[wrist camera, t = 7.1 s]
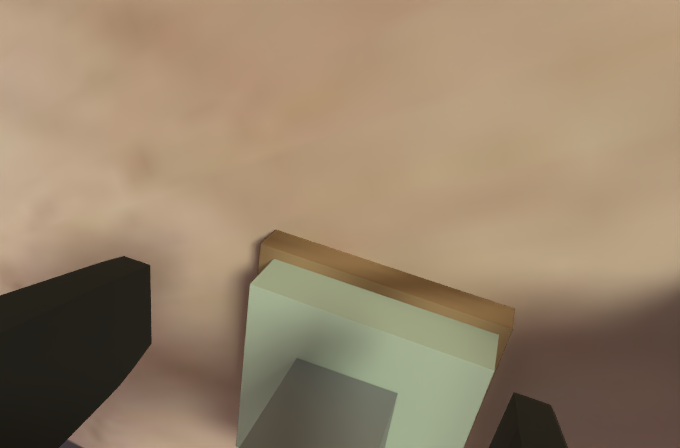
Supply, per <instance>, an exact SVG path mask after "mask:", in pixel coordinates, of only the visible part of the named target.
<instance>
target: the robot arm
mask: <svg viewBox="0 0 680 448" xmlns="http://www.w3.org/2000/svg"><path fill="white" fill-rule="evenodd" d="M150 345H151V290H150V265H148V264H145V263H142V262H139V261H137V260H134V259H131V258H128V257H125V256H123V257H119V258H115V259H111V260H108V261H105V262H101V263H98V264H95V265H92V266H89V267H86V268H83V269H79V270H76V271H73V272H70V273H67V274H64V275H61V276H58V277H55V278H52V279H49V280H46V281H43V282H40V283H37V284H34V285H31V286H28V287H25V288H22V289H19V290H16V291H13V292H10V293H7V294H3V295H0V448H59V447H60V446H61V445H62V444H63V443H64V442H65V441H66V440H67V439H68V438H69V437H70V436H71V435H72V434H73V433H74V432H75V431H76V430H77V429H78V428H79V427H80V426H81V425H82V424H83V423H84V422H85V421H86V420H87V419H88V418H89V417H90V416H91V414H92V413H93V412H94V411H95V410H96V409H97V408H98V407H99V406H100V405H101V404H102V403H103V402H104V401H105V400H106V399H107V398H108V397H109V396H110V395H111V394H112V393H113V392H114V391H115V390H116V389H117V387H118V386H119V385H120V384H121V383H122V382H123V380H124V379H125V378H126V377H127V375H128V374H129V373H130V371H131V370H132V369H133V368H134V366H135V365H136V364H137V362H138V361H139V360H140V358H141V357H142V355H143V354H144V353H145V351H146V350H147V349H148V347H149V346H150ZM489 448H568V446H567V444H566V441H565V439H564V436H563V434H562V431H561V428H560V426H559V423H558V420H557V418H556V415H555V413H554V411H553V409H552V407H551V405H549V404H546V403H543V402H540V401H538V400H535V399H532V398H529V397H526V396H523V395H520V394H517V393H515V392H514V393H513V396H512V398H511V400H510V402H509V404H508V407H507V409H506V411H505V413H504V415H503V418H502V420H501V422H500V424H499V427H498V429H497V431H496V433H495V435H494V438H493V440H492V442H491V444H490V446H489Z"/></svg>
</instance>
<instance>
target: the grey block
mask: <svg viewBox="0 0 680 448" xmlns="http://www.w3.org/2000/svg"><path fill="white" fill-rule="evenodd" d="M397 394H398V393H395V392H392V391H389V390H387V389H384V388H381V387H378V386H375V385H372V384H369V383H367V382H364V381H361V380H358V379H355V378H352V377H349V376H347V375H344V374H341V373H338V372H335V371H332V370H329V369H327V368H324V367H321V366H318V365H315V364H312V363H309V362H307V361H304V360H301V359H298V358H296V360H295V361H294V363H293V365H292V366H291V368H290V369H289V371H288V372H287V374H286V375H285V377H284V379H283V380H282V382H281V383H280V385H279V386H278V388H277V390H276V391H275V393H274V394H273V396H272V397H271V399H270V400H269V402H268V404H267V405H266V407H265V408H264V410H263V411H262V413H261V414H260V416H259V418H258V419H257V421H256V422H255V424H254V425H253V427H252V428H251V430H250V432H249V433H248V435H247V436H246V438H245V439H244V441H243V442H242V444H241V446H240V447H239V448H385V445H386V441H387V436H388V432H389V428H390V424H391V420H392V415H393V411H394V407H395V403H396V399H397Z"/></svg>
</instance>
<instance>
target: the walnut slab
mask: <svg viewBox="0 0 680 448" xmlns="http://www.w3.org/2000/svg"><path fill="white" fill-rule="evenodd" d="M273 259H276V260H279V261H282V262H285V263H288V264H291V265H294V266H297V267H300V268H303V269H306V270H309V271H312V272H315V273H318V274H321V275H324V276H327V277H330V278H333V279H335V280H338V281H341V282H344V283H347V284H350V285H353V286H356V287H359V288H362V289H365V290H368V291H371V292H374V293H377V294H380V295H383V296H386V297H389V298H392V299H395V300H397V301H400V302H403V303H406V304H409V305H412V306H415V307H418V308H421V309H424V310H427V311H430V312H433V313H436V314H439V315H442V316H445V317H448V318H451V319H454V320H456V321H459V322H462V323H465V324H468V325H471V326H474V327H477V328H480V329H483V330H486V331H489V332H492V333H495V334H498V335H499V339H498V347H497V355H496V362H495V370H494V373H495V371H496V369H497V366H498V364H499V361H500V359H501V357H502V354H503V352H504V349H505V347H506V345H507V342H508V340H509V337H510V335H511V333H512V330H513V322H514V311H515V309H514V308H511V307H508V306H505V305H502V304H499V303H496V302H493V301H490V300H487V299H484V298H481V297H478V296H475V295H472V294H469V293H466V292H463V291H460V290H457V289H454V288H451V287H448V286H444V285H441V284H438V283H435V282H432V281H429V280H426V279H423V278H420V277H417V276H414V275H411V274H408V273H405V272H402V271H399V270H396V269H393V268H390V267H387V266H384V265H381V264H378V263H375V262H372V261H369V260H366V259H363V258H360V257H357V256H354V255H351V254H348V253H345V252H342V251H339V250H336V249H333V248H330V247H327V246H324V245H321V244H318V243H315V242H312V241H309V240H306V239H302V238H299V237H296V236H293V235H290V234H287V233H284V232H281V231H278V230H275V231H274V232H273V233H272V234H271V235H269V236H268V237H267V238H266V239H265V240H264V241H263V242H262V243H261V247H260V257H259V267H258V275H259V274H260V273H261V272H262V271H263V270H264V269H265V268H266V267H267V266H268V265H269V263H270V262H271V261H272V260H273ZM494 373H493V376H494ZM493 376H492V378H493ZM492 378H491V380H490V383H491V381H492ZM490 383H489V385H488V388H489V386H490ZM488 388H487V390H488ZM487 390H486V393H487ZM486 393H485V395H486ZM485 395H484V398H485ZM484 398H483V400H484ZM483 400H482V402H483ZM481 405H482V403H481ZM481 405H480V407H481ZM479 410H480V408H479ZM479 410H478V412H479ZM477 414H478V413H477ZM476 417H477V415H476ZM475 419H476V418H475ZM474 422H475V420H474ZM473 424H474V423H473ZM472 426H473V425H472ZM471 429H472V428H471ZM470 431H471V430H470ZM469 434H470V433H469ZM468 436H469V435H468ZM467 438H468V437H467ZM466 441H467V440H466ZM465 443H466V442H465ZM464 446H465V445H464ZM463 448H464V447H463Z"/></svg>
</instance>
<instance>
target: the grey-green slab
mask: <svg viewBox="0 0 680 448" xmlns="http://www.w3.org/2000/svg"><path fill="white" fill-rule="evenodd" d="M498 339H499V335H498V334H495V333H492V332H489V331H486V330H483V329H480V328H477V327H474V326H471V325H468V324H465V323H462V322H459V321H456V320H454V319H451V318H448V317H445V316H442V315H439V314H436V313H433V312H430V311H427V310H424V309H421V308H418V307H415V306H412V305H409V304H406V303H403V302H400V301H397V300H395V299H392V298H389V297H386V296H383V295H380V294H377V293H374V292H371V291H368V290H365V289H362V288H359V287H356V286H353V285H350V284H347V283H344V282H341V281H338V280H335V279H333V278H330V277H327V276H324V275H321V274H318V273H315V272H312V271H309V270H306V269H303V268H300V267H297V266H294V265H291V264H288V263H285V262H282V261H279V260H276V259H273V260H272V261H271V262H270V263H269V265H268V266H267V267H266V268H265V269H264V270H263V271H262V272H261V273H260V274H259V275H258V276H257V277H256V278H255V279H254V280H253V281H252V283H251V284H250V290H249V301H248V313H247V324H246V336H245V347H244V359H243V370H242V382H241V394H240V405H239V417H238V428H237V440H236V446H237V447H240V446H241V444H242V442H243V441H244V439H245V438H246V436H247V435H248V433H249V432H250V430H251V428H252V427H253V425H254V424H255V422H256V421H257V419H258V418H259V416H260V414H261V413H262V411H263V410H264V408H265V407H266V405H267V404H268V402H269V400H270V399H271V397H272V396H273V394H274V393H275V391H276V390H277V388H278V386H279V385H280V383H281V382H282V380H283V379H284V377H285V375H286V374H287V372H288V371H289V369H290V368H291V366H292V365H293V363H294V361H295V360H296V358H298V359H301V360H304V361H307V362H309V363H312V364H315V365H318V366H321V367H324V368H327V369H329V370H332V371H335V372H338V373H341V374H344V375H347V376H349V377H352V378H355V379H358V380H361V381H364V382H367V383H369V384H372V385H375V386H378V387H381V388H384V389H387V390H389V391H392V392H395V393H398V394H397V399H396V403H395V407H394V411H393V415H392V420H391V424H390V428H389V432H388V436H387V441H386V445H385V448H463V447H464V445H465V442H466V440H467V437H468V435H469V433H470V430H471V428H472V425H473V423H474V420H475V418H476V415H477V413H478V410H479V408H480V405H481V403H482V400H483V398H484V395H485V393H486V390H487V388H488V385H489V383H490V380H491V378H492V376H493V373H494V370H495V362H496V355H497V347H498Z"/></svg>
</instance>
